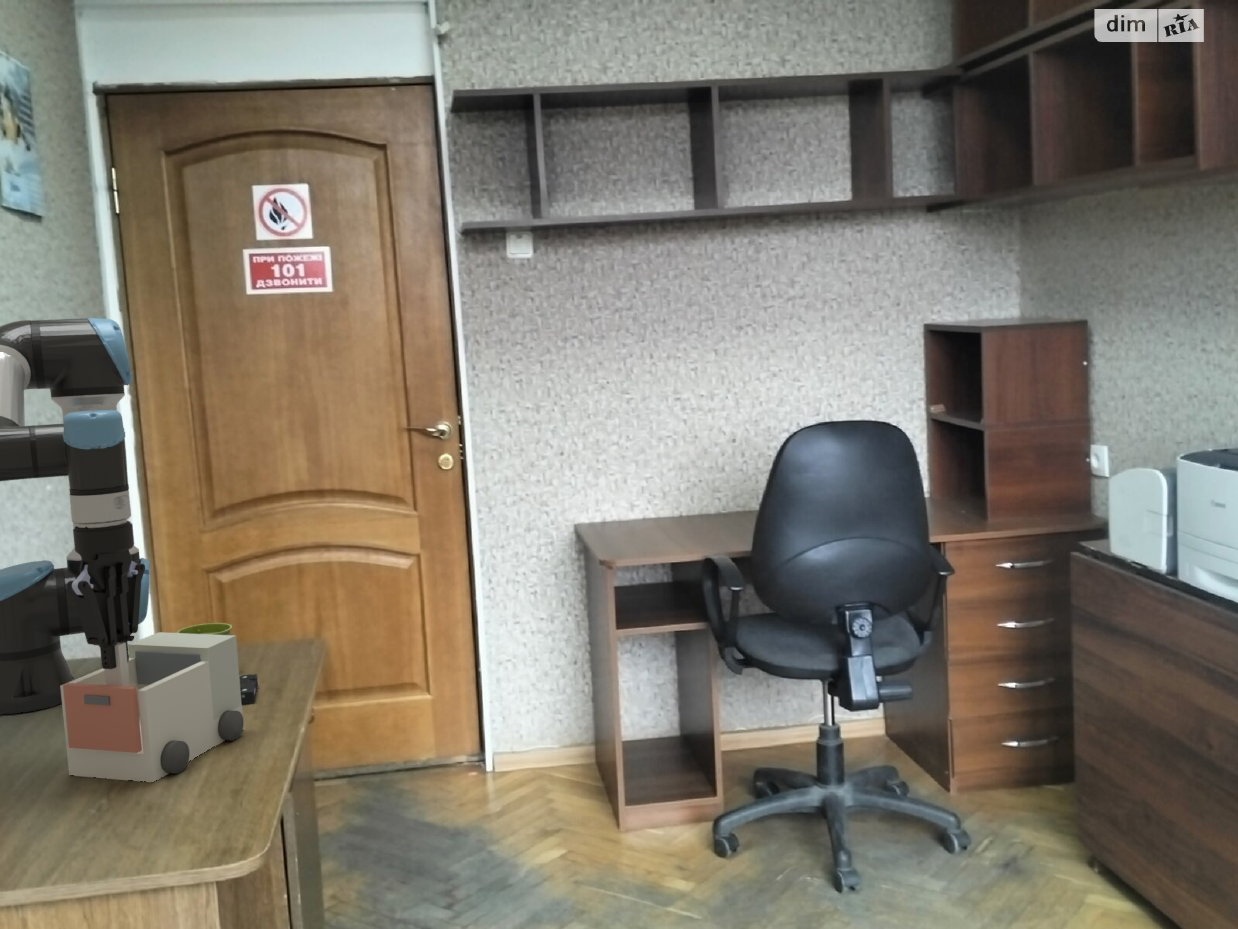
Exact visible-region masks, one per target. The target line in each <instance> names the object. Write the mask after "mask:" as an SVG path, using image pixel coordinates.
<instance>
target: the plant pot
mask: <svg viewBox="0 0 1238 929" xmlns="http://www.w3.org/2000/svg"><path fill="white" fill-rule="evenodd" d="M232 629H233V625H232V624H229V623H226V622H213V623H211V622H210V623H200V624H199V623H198V624H194V625H190V626H187V627H183V628H180V629H178V630H177V631H176V633H188V634H211V635H231V634H230V633H231V630H232Z"/></svg>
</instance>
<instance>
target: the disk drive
mask: <svg viewBox="0 0 1238 929" xmlns="http://www.w3.org/2000/svg"><path fill="white" fill-rule="evenodd" d="M239 679H240V691H241V704H242V706H243V705H244V706H245V705H250V704H251V705H252V704H253V705H254V704H255V702H256V698H257V692H258V688H257V687H259V682H258V674H257V673H254V674H245V675H243V674H242V675H239Z"/></svg>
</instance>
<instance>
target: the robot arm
mask: <svg viewBox="0 0 1238 929" xmlns="http://www.w3.org/2000/svg"><path fill="white" fill-rule="evenodd" d="M127 350H128V349H127V346H126V343H125V339H124V336H123V332H122V329H121V327H120V325H119V324H118V323H117V321H115V320H113V319H110V318H97V317H96V318H95V317H94V318H92V317H87V318H84V317H83V318H65V319H62V318H61V319H37V320H35V319H34V320H31V319H26V320H25V319H24V320H18V321H12V322H8V323H5V324H3V325H1V326H0V482H7V481H8V482H9V481H18V480H27V479H28V480H31V479H44V478H45V479H46V478H56V477H68V478H67V479H68V486H69V502H70V503H69V505H70V517H71V521H72V527H73V528H72V535H73V536H72V537H73V543H74V544H73V545H74V547H73V548H72V549H71V551H70V552H69V553H68V554H67V556H66V567H62V568H55V565H54V564H53V562H52V561H51V560H38V561H36V560H35V561H28V562H24V563H23V562H22V563H19V564H14V565H11V566H9V567H8V566H7V567H4V568H0V715H12V714H22V713H21V712H23V713H28V712H33V711H34V712H35V711H38V710H43V709H47V708H51V707H54V706H57V705H59V704H62V698H61V688H60V686H61V685H63V684H66V683H68V682H71V681H73V680H76V678H75V676H74V675H72V674H71V670H70V667H69V665H68V663H67V660H66V658H65V655H64V653H63V652H62V646H61V645H62V644H61V637H62V636H63V637H64V636H69V635H70V636H71V635H78V634H84V636H85V640H86V643H87V644H88V645H93V646H98V647H99V649H100V657H101V658H100V659H101V660H100V661H101V667H102V668H103V669H104V671H105V682H106V685H114V686H130V685H129V674H128V663H127V662H128V661H129V651H128V642H134V639H135V635H132V634H136V633H137V632H138V630H139V625H141V624H142V623H143V622H144V621H145V620H146V618H147V616H148V615H147V614H148V608H149V600H150V599H149V598H150V561H149V559H147V558H144V557H140V549H139V548H138V547H137V546H136V545H135V537H134V529H133V528H134V527H133V523H132V522H131V521H130V520H128V519H130V518H131V517H132V510H131V501H130V499H131V498H130V491H129V489H130V486H129V478H128V477H129V476H128V462H127V461H128V460H127V450H126V439H125V438H126V431H125V428H124V421H123V416H122V414H121V412H119V410H118V409H117V405H118V403H119V402H121V400H122V399H123V398H124V397H125V395H126V394H125V386H130V385H131V384H133V374H132V371H131V364H130V360H129V355H128V351H127ZM35 389H36V390H45V389H46V390H50V400H51V401H53V403H55V404H57V405H58V406H59V407H60V408H61V413H62V421H63V422H62V423H52V424H39V425H26V423H25V422H26V420H25V417H26V416H25V390H35Z"/></svg>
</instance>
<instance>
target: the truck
mask: <svg viewBox="0 0 1238 929" xmlns="http://www.w3.org/2000/svg"><path fill="white" fill-rule="evenodd" d="M237 644H238V643H237V635H235V634H233V635H231V634H230V635H211V634H188V633H177V632H161V631H160V632H159V631H158V632H156V633H153V634H151V635H148V636H146V637H143V638H141V639H137V640H136V641H132V642H130V643H129V644H128V655H129V661H128V662H127V663H128V674H129V685H130V686H131V687H136V692H137V703H138V714H139V725H140V736H141V746H142V751H140V752H138V753H129V752H117V751H104V750H91V749H78V748H69V742H68V732H67V722H66V711H65V701H64V691H63V685H64V684H63V685H61V686H60V688H61V698H62V703H61V708H62V716H63V717H62V718H63V727H64V737H65V738H64V739H65V747H66V758H67V766H68V769H67V770H68V776H70V775H74V776H73V777H84V778H93V777H96V779H105V778H106V779H108V780H119V781H128V780H133V781H132V782H140V781H143V783H151V782H154V781H155V782H157V781H159V780H160V779H162V778H164V777H166V776H168V775H169V774H180V773H182V772H183V771H184V770H185V769H186V768H187V765H188V763H190V762H191V761H193V760H195V759H196V758H195V757H197V756H198V757H200V756H201V755H200V754H202V753H203V754H205V753H206V751H207V750H208V749H210V750H212V749H213V748H212V747H213V746H215V747H217V746H218V745H217V744H219V743H221V744H222V743H224V742H225V740H226V741H236V740H237V739H239V738H240V736H241V735H242V733H243V731H244V730H243V729H244V716H243V705H242V704H241V691H240V679H239V676H240V669H239V657H238V654H239V653H238V645H237ZM68 683H80V684H97V685H106V682H105V671H104V669H103V667H102V668H99V669H97V670H95V671H93V672H90V673H87V674H86V675H83V676H81V677H78V678H75V680H73V681H71V682H68ZM66 684H67V683H66ZM242 730H243V731H242ZM235 739H236V740H235ZM223 741H224V742H223ZM216 745H217V746H216ZM219 745H220V744H219ZM211 748H212V749H211ZM204 752H205V753H204ZM207 752H208V751H207ZM203 754H202V755H203ZM199 755H200V756H199ZM198 757H197V758H198ZM194 758H195V759H194ZM190 760H191V761H190ZM189 761H190V762H189ZM168 773H169V774H168ZM161 777H162V778H161ZM156 780H157V781H156ZM144 781H146V782H144ZM155 782H154V783H155Z"/></svg>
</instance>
